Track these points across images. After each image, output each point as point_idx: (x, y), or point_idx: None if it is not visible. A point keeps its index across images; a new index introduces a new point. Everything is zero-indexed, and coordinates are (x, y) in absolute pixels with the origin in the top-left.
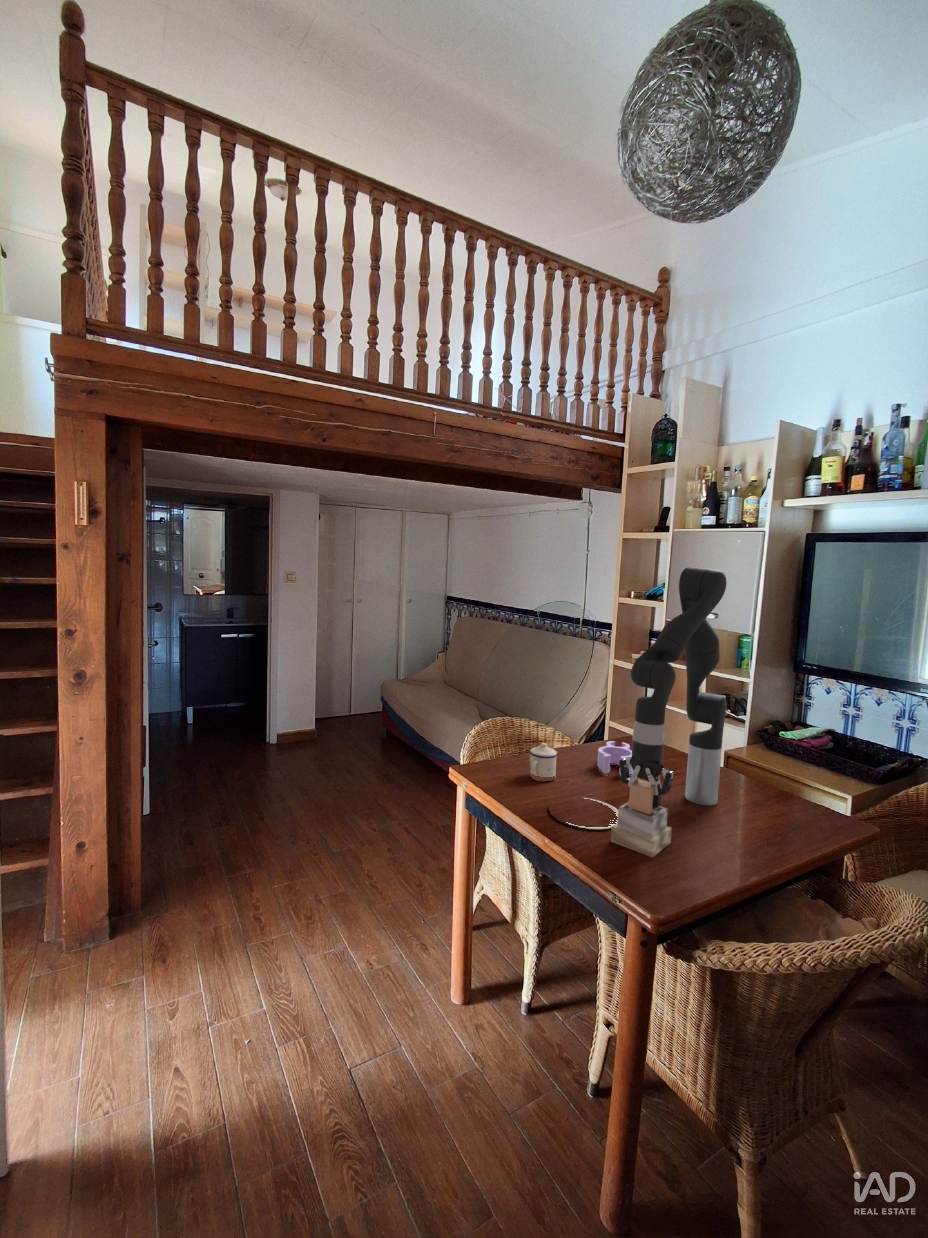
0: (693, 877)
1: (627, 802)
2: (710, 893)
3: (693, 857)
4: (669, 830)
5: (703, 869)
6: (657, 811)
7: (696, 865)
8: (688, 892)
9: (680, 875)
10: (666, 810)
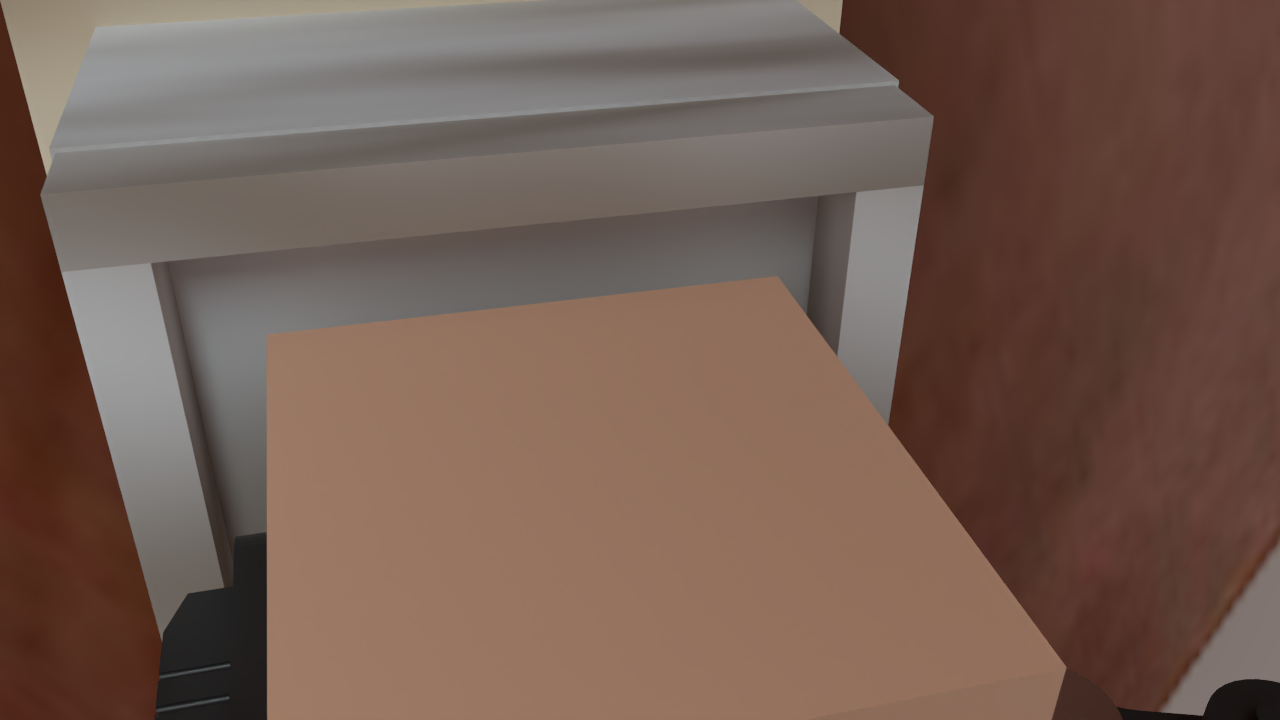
0: (1133, 403)
1: (145, 553)
2: (1267, 500)
3: (1087, 19)
4: (833, 5)
5: (1203, 194)
6: (724, 216)
7: (1135, 174)
8: (1123, 611)
9: (1031, 464)
10: (914, 161)
